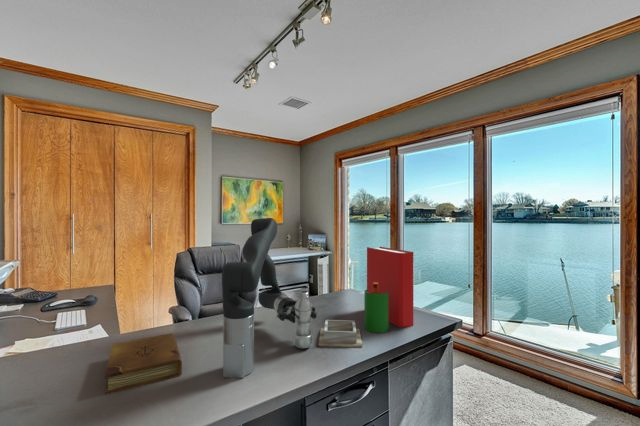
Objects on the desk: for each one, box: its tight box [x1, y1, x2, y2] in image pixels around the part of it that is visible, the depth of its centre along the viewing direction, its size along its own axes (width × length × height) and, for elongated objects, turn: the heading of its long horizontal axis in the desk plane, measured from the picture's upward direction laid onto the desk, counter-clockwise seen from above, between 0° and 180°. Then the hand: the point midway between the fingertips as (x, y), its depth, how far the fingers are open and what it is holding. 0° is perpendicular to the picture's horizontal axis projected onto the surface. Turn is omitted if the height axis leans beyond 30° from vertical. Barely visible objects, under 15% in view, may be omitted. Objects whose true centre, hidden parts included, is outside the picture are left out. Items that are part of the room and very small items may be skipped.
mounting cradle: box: [318, 319, 363, 348], centre depth 119 cm, size 16×16×5 cm
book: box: [366, 246, 414, 328], centre depth 144 cm, size 27×8×32 cm, turn 23°
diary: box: [104, 333, 183, 395], centre depth 96 cm, size 23×19×6 cm
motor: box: [363, 282, 390, 334], centre depth 129 cm, size 10×9×20 cm
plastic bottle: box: [293, 290, 313, 350], centre depth 111 cm, size 6×7×20 cm
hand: (305, 317), depth 109 cm, fingers open, 8 cm apart
